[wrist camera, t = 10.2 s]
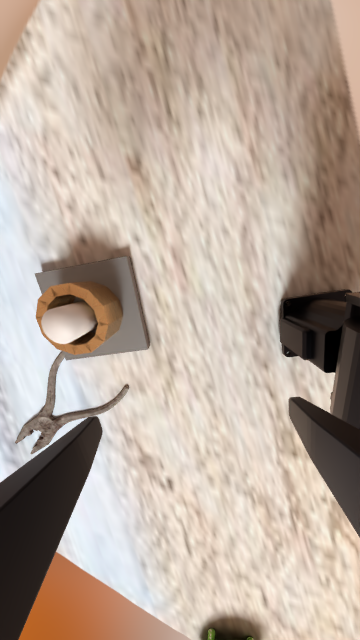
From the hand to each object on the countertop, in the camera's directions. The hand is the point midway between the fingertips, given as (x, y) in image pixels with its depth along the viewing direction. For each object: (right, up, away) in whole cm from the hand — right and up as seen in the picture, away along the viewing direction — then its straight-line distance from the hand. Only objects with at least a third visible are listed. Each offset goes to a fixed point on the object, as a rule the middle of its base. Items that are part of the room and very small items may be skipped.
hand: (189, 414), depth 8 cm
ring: (-10, +5, +11) cm, 15 cm away
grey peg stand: (-10, +5, +12) cm, 16 cm away
